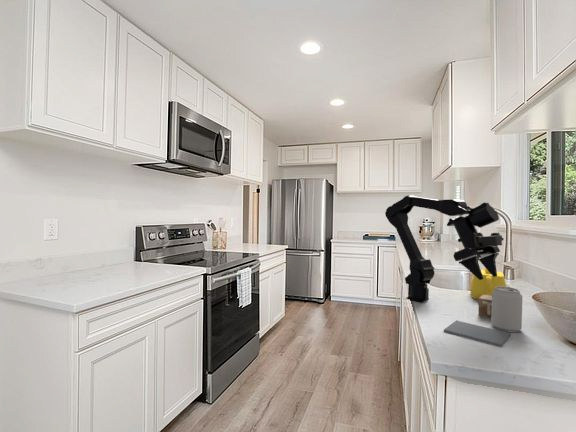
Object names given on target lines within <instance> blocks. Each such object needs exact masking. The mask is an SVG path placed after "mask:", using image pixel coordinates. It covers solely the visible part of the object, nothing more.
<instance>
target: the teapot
mask: <svg viewBox="0 0 576 432" xmlns="http://www.w3.org/2000/svg"><path fill="white" fill-rule="evenodd" d="M480 270H481V272H482V276H483V279H482V280H479V279H478V278H477V277H476V276H475V275H474V274H472V277H471V282H470V295H471V298H472V297H473V298H472V299H474V300H479V298H480V297H481V296H482V295H488V296H492V291H494V290H495V287H497V286H503V287H507V283H506V279H505V275H504V273H503V272H501V271H497V276H495V277H493V276H492V275H491V273H490V272H489V271H488V270H487V269H486V268H485V267H484V268H483V270H482V269H480Z"/></svg>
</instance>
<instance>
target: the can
mask: <svg viewBox="0 0 576 432" xmlns="http://www.w3.org/2000/svg"><path fill="white" fill-rule="evenodd" d="M520 292H521V290H520V289H518V288H515V287H510V286H506V287H503V286H497V287H495V290H494V291H492V311H491V318H490V323H491V325H492V326H493V327H494V329H496V330H499V331H504V332H508V333H515V332H516V333H517V332H519V331H520V330H522V325H523V324H522V322H523V295H522V294H521V293H520Z"/></svg>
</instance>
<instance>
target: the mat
mask: <svg viewBox="0 0 576 432" xmlns="http://www.w3.org/2000/svg"><path fill="white" fill-rule="evenodd" d="M443 332H445V333H448V334H452V335H456V336H459V337H463V338H467V339H470V340H475V341H478V342H481V343H486V344H488V345H492V346H497V347H500V348H501V347H503V345H504V344H505V342H506V341H507V340H508V339H509V337H510V336H511V332H507V331H502V330H499V329H496V328H491V327H486V326H482V325H477V324H474V323H470V322H466V321H460V320H456V319H455V321H454V322H452V323H450V324H449V325H448V326H447V327H445V328H444V329H443Z"/></svg>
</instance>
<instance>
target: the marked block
mask: <svg viewBox="0 0 576 432" xmlns="http://www.w3.org/2000/svg"><path fill="white" fill-rule="evenodd" d="M477 311H478V316H479V317H483V318H487V319H491V311H492V296H488V295H482V296H481V297H480V298H479V299H478V310H477Z"/></svg>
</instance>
